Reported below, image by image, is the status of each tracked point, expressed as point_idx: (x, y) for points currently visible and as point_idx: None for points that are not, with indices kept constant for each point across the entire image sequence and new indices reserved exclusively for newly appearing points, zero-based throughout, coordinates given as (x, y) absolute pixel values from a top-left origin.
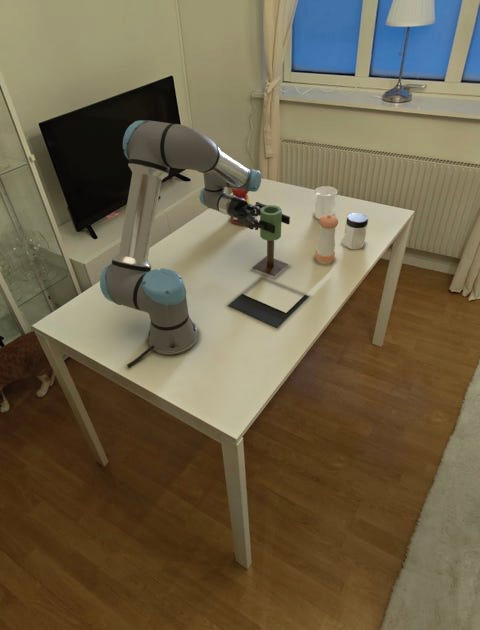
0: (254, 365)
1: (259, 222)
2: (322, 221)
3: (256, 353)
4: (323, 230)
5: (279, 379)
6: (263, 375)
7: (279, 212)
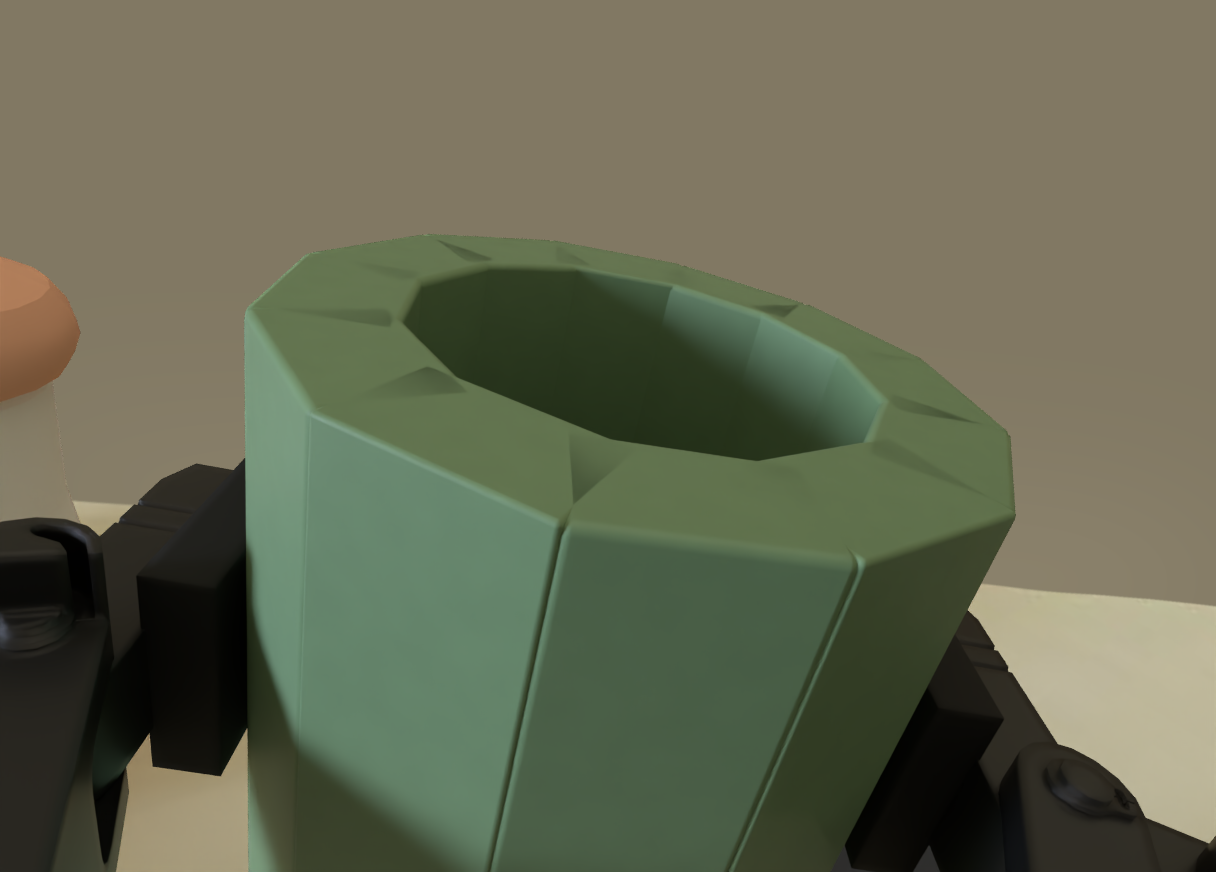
0: (1199, 688)
1: (975, 743)
2: (8, 321)
3: (1167, 712)
4: (34, 425)
5: (1109, 596)
6: (1171, 642)
7: (615, 256)
